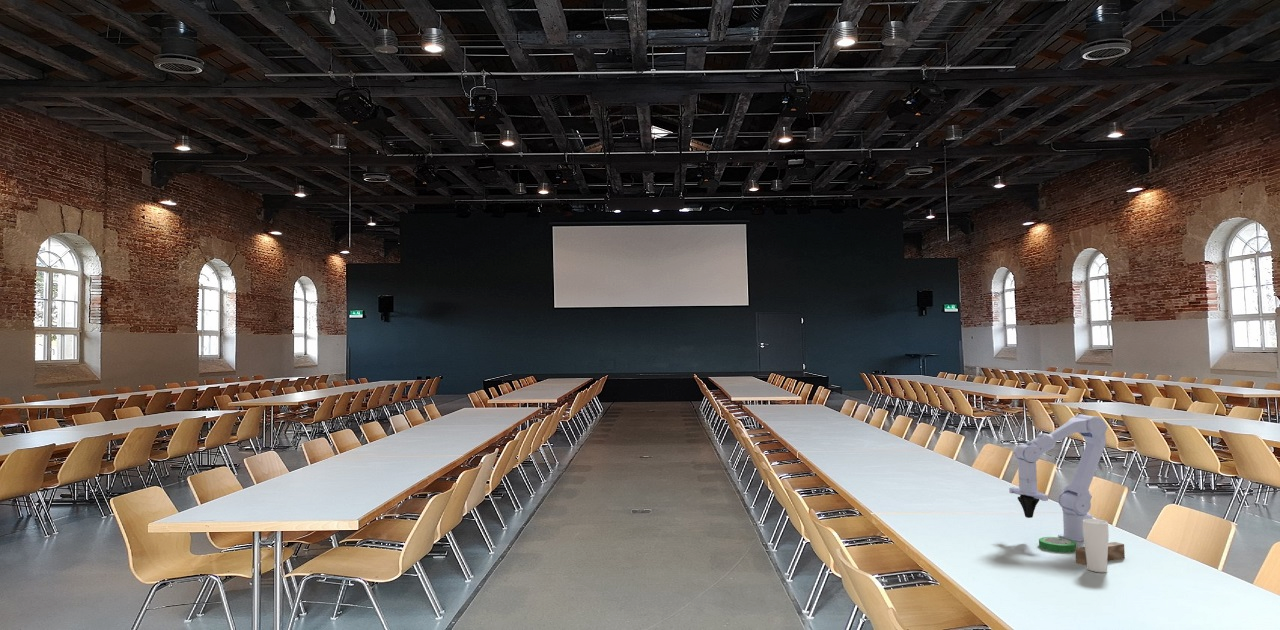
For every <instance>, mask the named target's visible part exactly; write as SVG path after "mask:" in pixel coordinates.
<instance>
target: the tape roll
mask: <svg viewBox="0 0 1280 630" xmlns="http://www.w3.org/2000/svg"><path fill="white" fill-rule="evenodd" d="M1038 546H1039V548H1041V549H1042V550H1045V551H1049V552H1054V553H1061V554H1063V553H1068V554H1069V553H1075V548H1077V541H1074V540H1070V539H1067V538H1063V537H1059V536H1057V537H1056V536H1043V537H1040V538H1038Z"/></svg>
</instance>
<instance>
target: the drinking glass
mask: <svg viewBox="0 0 1280 630" xmlns="http://www.w3.org/2000/svg"><path fill="white" fill-rule="evenodd" d="M1109 532H1110V531H1109V522H1108V521H1107V520H1104V519H1099V518H1093V519H1083V538H1084V541H1083V545H1084V546H1083V547H1085V553H1086V561H1087V565H1086V568H1087V570H1088V571H1091V572H1095V573H1105V572H1106V573H1107V571H1108V561H1107V557H1108V543H1109V536H1110V535H1109V534H1110V533H1109Z"/></svg>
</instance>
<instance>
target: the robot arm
mask: <svg viewBox="0 0 1280 630" xmlns="http://www.w3.org/2000/svg"><path fill="white" fill-rule="evenodd" d="M1107 430H1108V425H1107V424H1106V422H1105V420H1104V419H1103V418H1102V417H1100V416H1093V415H1087V414H1081V413H1080V414H1076V415H1075V416H1073V417H1070V418H1069V420H1068V421H1067V422H1065V423H1064V424H1062V425H1061V426H1059V427H1057V428H1056V429H1055V430H1053V431H1052V432H1050V433H1049V434H1048V433H1045V432H1044V433H1038V434H1037V436H1036V437H1035V438H1033V439H1032V440H1028V441H1026V443H1025V444H1023V443H1021V444H1019V445H1017V447H1016V449H1015V451H1014V452H1013V453H1014V457H1015V458H1016V459H1017V468H1018V487H1008V489H1009V494H1013V495H1014V494H1015V495H1018V496H1017V501H1018V502H1019V504H1020V506H1021V507H1022V508H1021V509H1022V510H1023V514H1024V516H1025V518H1028V519H1031V518H1033V517H1034V513H1035V509H1036V507H1037V505H1038V504H1039V502H1040V501H1042V502H1047V501H1049V495H1048V494H1045V493H1043V492H1041V491H1038V478H1037V477H1038V475H1037V474H1038V473H1037V462H1038V461H1039V459H1040V456H1042V455H1043V454H1045V453H1047V452H1049V451H1050V450H1052V449H1054V448H1055V446H1056V443H1057V442H1059V441H1061V440H1063V439H1065V438H1067V437H1069V436H1071V435H1073V434H1075V433H1078V434H1079V435H1080V436H1082V437H1083V439H1084V441H1085V447H1084V448H1083V449H1084V450H1083V452H1082V455H1081V457H1080V460H1079V462H1078V465H1077V468H1076V470H1075V473H1074V476H1073V477H1072V480H1071V483H1070V484H1069V483H1068V485H1066V486H1065V487H1064V489H1063V491H1062V492H1061V493H1060V494H1059V495H1058V498H1057V502H1058V505H1059V506H1060V507H1061V510H1062V519H1063V520H1062V521H1063V523H1062V525H1063V533H1061V534H1057V537H1059V538H1066V539H1070V540H1073V541H1075V542H1084V538H1083V519H1094V518H1093V516H1092V515H1091V514H1090V513H1089V512H1090V510H1091V507H1092V504H1091V503H1092V502H1091V501H1092V494H1091V492H1090V490H1089V489H1090V487H1091V484H1092V481H1093V478H1094V476H1095V474H1096V471H1097V469H1098V466H1099V464H1100V460H1101V458H1102V456H1103V453H1104V450H1105V448H1106V443H1107V439H1106V437H1107V436H1106V432H1107Z"/></svg>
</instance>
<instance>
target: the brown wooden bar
mask: <svg viewBox="0 0 1280 630" xmlns="http://www.w3.org/2000/svg"><path fill="white" fill-rule="evenodd" d="M1074 553H1075V563H1076V564H1080V565H1082V566H1087V561H1086V553H1085V546H1080V547H1076V548H1075V552H1074ZM1125 553H1126V552H1125V544H1124V543H1121V542H1118V541H1111V542H1108V557H1107V562H1111V561H1117V560H1122V559H1125V558H1126V557H1125Z"/></svg>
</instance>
